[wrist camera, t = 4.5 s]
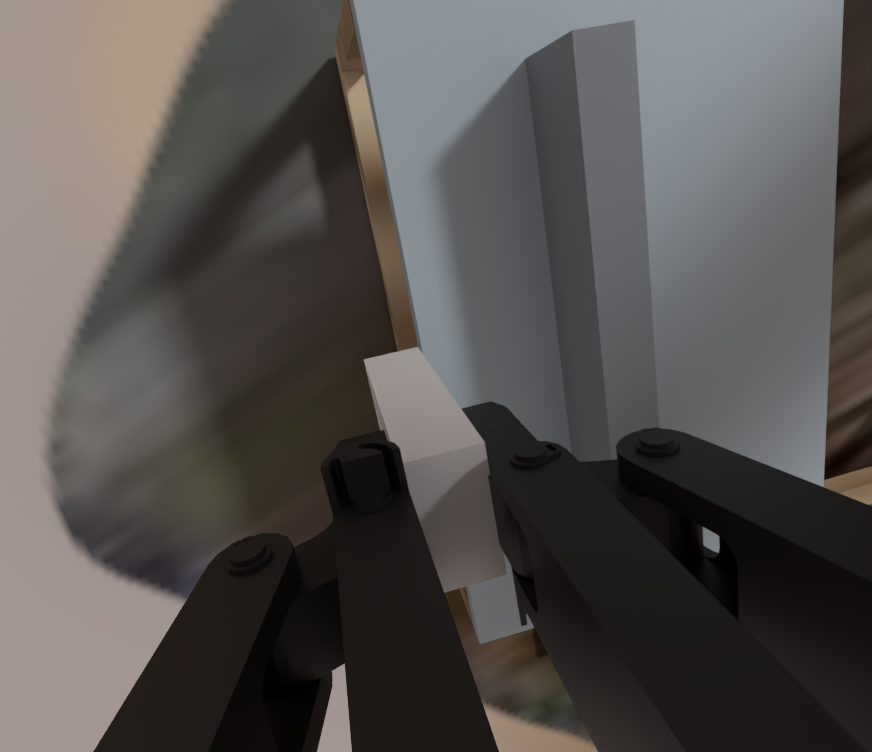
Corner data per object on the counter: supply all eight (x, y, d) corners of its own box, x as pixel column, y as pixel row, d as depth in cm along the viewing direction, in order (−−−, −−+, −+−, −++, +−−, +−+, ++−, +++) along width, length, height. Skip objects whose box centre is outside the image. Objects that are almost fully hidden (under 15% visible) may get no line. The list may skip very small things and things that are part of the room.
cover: (346, -17, 15) (357, -79, 12) (824, -86, 17) (959, -159, 14) (474, 629, 22) (505, 712, 19) (805, 529, 24) (891, 588, 20)
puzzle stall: (334, 50, 23) (345, -13, 16) (968, -52, 26) (1208, -139, 19) (433, 520, 29) (472, 623, 22) (925, 386, 33) (1089, 438, 26)
